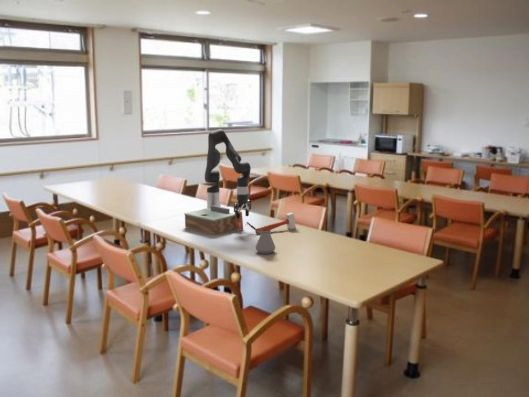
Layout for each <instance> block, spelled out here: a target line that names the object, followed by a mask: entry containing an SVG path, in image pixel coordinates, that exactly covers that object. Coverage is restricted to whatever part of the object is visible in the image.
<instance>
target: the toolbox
mask: <svg viewBox="0 0 529 397" xmlns="http://www.w3.org/2000/svg"><path fill="white" fill-rule="evenodd" d="M184 226H185V229H188V230H192V231H196V232H201V233H204V234H205V233H206V234H208V235H212V234H213V235H214V236H216V234H217V235H221V234H223V233H227V232H230V231H234V230H236V223H235V216H234V217H230V218H226V219H222V220H218V221H210V220H205V219H201V218H196V217H192V216H188V215H184ZM213 235H212V236H213Z"/></svg>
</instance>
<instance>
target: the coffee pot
mask: <svg viewBox="0 0 529 397" xmlns="http://www.w3.org/2000/svg"><path fill="white" fill-rule="evenodd" d="M245 226H249V227H250V228H252V229H253V230H254V231H255V230H256V231H257V232H258V233H259V234H258V235H259V237H258V240H257V242H256V243H255V244H256V245H255V250H256V251H257V252H258V253H259V254H262V255H270V254H272V253H273V252H274V251H275V250H276V244H275V243H274V240H273V238H272V235H271V232H272V230H270V229H261V230H260V232H261V233H260V232H259V231H258V230H257V228H256V227H254V225H252V224H251V223H249V222H248V221H247V222H246V223H245Z"/></svg>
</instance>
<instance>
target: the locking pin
mask: <svg viewBox="0 0 529 397" xmlns="http://www.w3.org/2000/svg"><path fill="white" fill-rule="evenodd" d="M234 214H235V223H236V229H235V230H236V231H243V230H244V221H243V211H242V210H241V211H240V218H239V219H238V218H237V217H236V212H234Z"/></svg>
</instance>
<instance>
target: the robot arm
mask: <svg viewBox="0 0 529 397" xmlns="http://www.w3.org/2000/svg"><path fill="white" fill-rule="evenodd" d="M207 137H208V140H207V142H208V143H207V145H208V148H207V154H206V155H207V156H206V167H205V171H204V181H205V183H208V184H213V185H211V186H208V187H207V188H206V208H208V209H211V206H212V205H213V206H218V207H222V206H221V203H222V202H221V200H220V199H221V198H220V182H221V181H220V176H221V173H220V171H219V170H218V169H216V168H217V167H218V166H219V165H220V162H221V157H222V156H221V153H220V150H218V149H217V147H216V146H217V145H220V144H222V143H223V144H224V145H225V155H226V158H227V159H228V160H229V161H230V163H231V164H232V167H233V171H234V172H235V173H237V174H239V175H240V174H241V175H240V176H238V177H237V179H236V201H237V202H234V203H233V212H234V213H235V212H236V217H237V218H238V219H239V218H240V211H241V212H242V209H245V212H244V213H245V214H244V215H245V217H249V214H250V210H252V201H251V200H250V199H249V178H250V174H251V170H252V169H251V168H252V167H251V165H250V163H249V162H248V161H244V162H243V161H242V157H241V156H240V154H239V153H238V151H236V149H235V147H234V146H233V144H232V143H231V141H230V138H229V137H228V135H227V133H226V131H225V130H223V129H222V128H219V129H218V128H217V129H215V130H213V131H210V132H209V133H208V136H207ZM241 161H242V162H241Z"/></svg>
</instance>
